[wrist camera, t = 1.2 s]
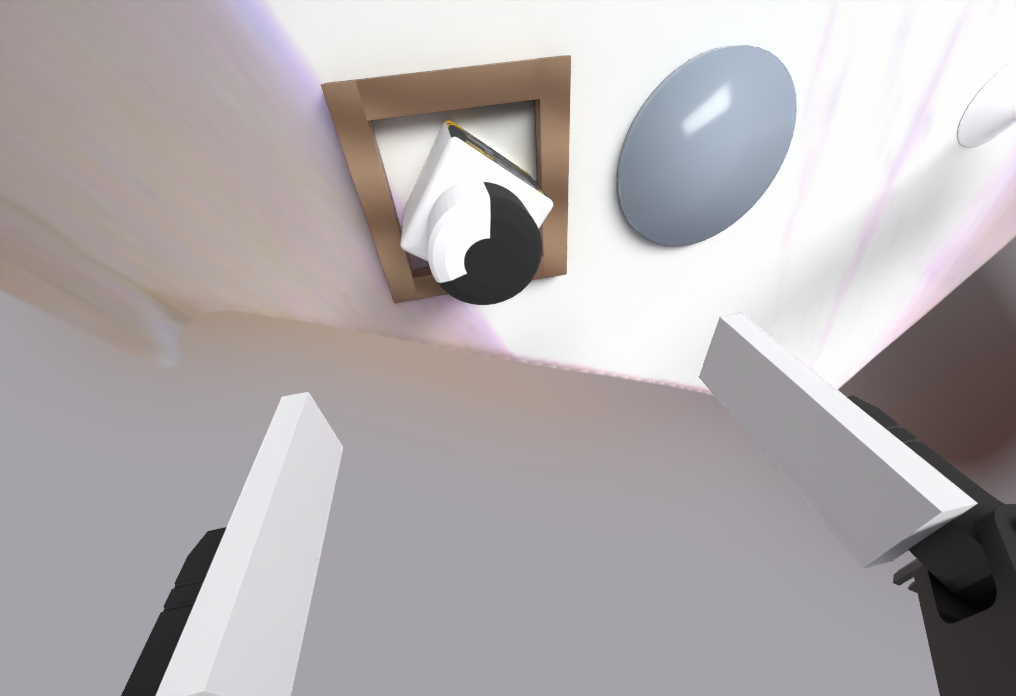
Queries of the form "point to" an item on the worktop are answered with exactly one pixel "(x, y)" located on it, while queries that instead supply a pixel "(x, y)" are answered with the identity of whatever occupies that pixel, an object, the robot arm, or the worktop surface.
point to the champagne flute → (990, 109)
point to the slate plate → (706, 145)
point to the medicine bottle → (475, 219)
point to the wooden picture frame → (446, 92)
